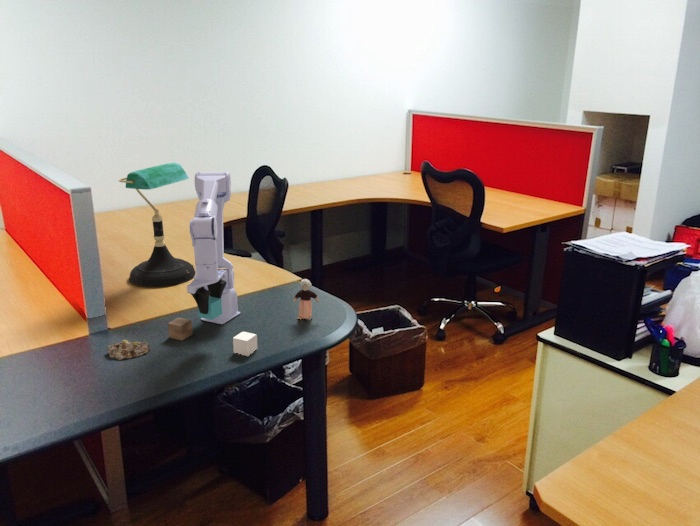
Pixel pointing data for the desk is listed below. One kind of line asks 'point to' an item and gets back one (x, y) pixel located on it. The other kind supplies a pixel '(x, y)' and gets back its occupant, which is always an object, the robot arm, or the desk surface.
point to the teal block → (212, 309)
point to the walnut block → (180, 328)
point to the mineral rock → (127, 349)
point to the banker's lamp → (158, 231)
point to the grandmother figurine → (305, 300)
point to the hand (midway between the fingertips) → (209, 309)
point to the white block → (245, 343)
